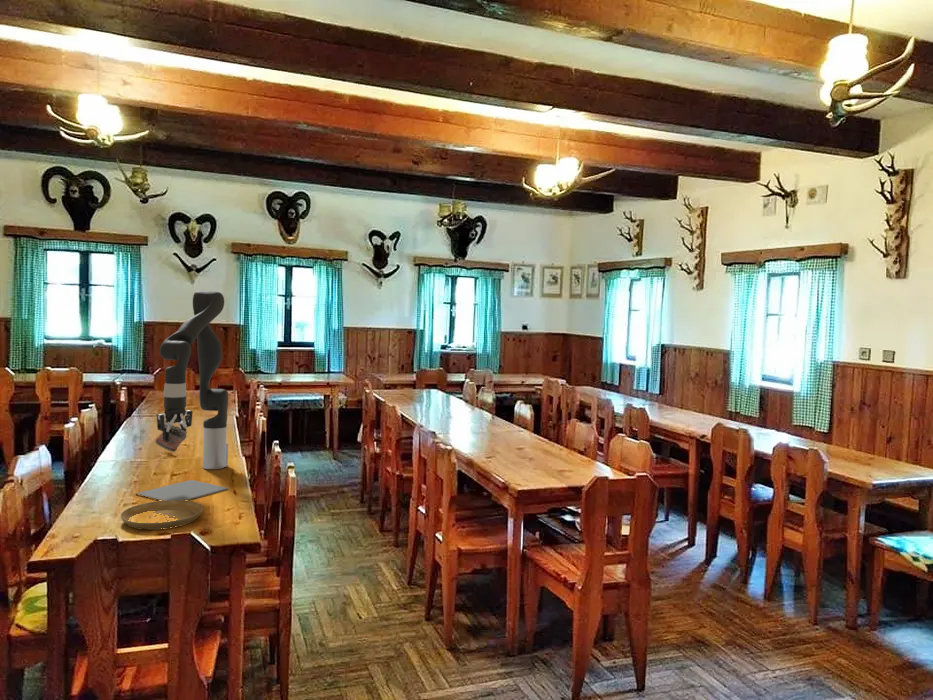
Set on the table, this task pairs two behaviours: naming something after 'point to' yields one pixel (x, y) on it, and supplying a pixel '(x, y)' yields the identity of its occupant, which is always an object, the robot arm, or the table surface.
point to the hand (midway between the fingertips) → (174, 440)
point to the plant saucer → (164, 513)
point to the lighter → (172, 439)
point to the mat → (183, 491)
